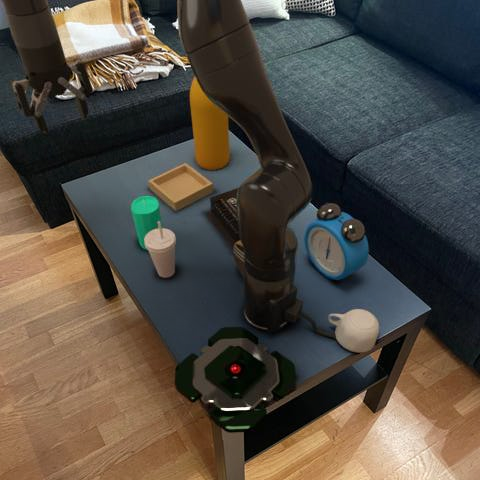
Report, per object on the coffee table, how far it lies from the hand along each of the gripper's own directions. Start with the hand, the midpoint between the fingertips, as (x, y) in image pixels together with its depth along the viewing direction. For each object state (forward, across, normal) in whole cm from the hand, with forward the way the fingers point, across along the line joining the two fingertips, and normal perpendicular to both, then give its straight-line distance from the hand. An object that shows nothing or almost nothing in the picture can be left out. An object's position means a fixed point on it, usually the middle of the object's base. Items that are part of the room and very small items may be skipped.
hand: (65, 124), depth 95 cm
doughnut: (+24, +16, -39) cm, 49 cm away
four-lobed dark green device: (+24, -3, -57) cm, 62 cm away
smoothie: (+24, +3, -26) cm, 36 cm away
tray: (+24, +22, -5) cm, 33 cm away
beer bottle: (+24, +36, 0) cm, 43 cm away
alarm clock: (+24, +31, -49) cm, 63 cm away
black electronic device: (+24, +26, -27) cm, 45 cm away
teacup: (+18, +21, -64) cm, 69 cm away
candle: (+24, +6, -16) cm, 30 cm away
